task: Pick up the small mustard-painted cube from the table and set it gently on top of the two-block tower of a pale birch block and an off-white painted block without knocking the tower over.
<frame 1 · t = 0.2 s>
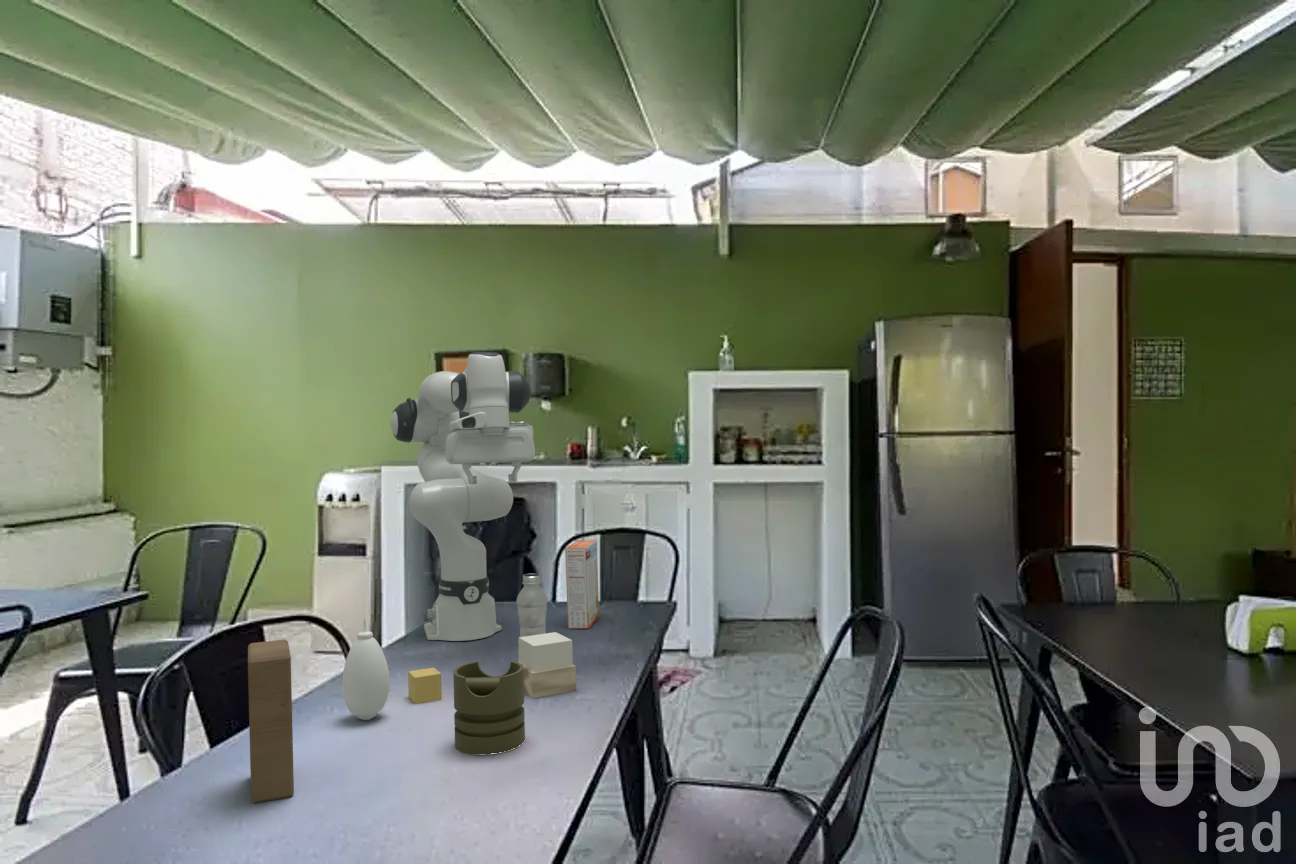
hand: (493, 483, 195), 39 cm above the table, tool pointing down, fingers open, 8 cm apart
piston: (490, 743, 142), on the table
cracker box: (583, 624, 227), on the table
mustard cube: (425, 698, 166), on the table
plastic bottle: (533, 670, 185), on the table
painted tower top: (545, 664, 171), point 5 cm above the table, touching birch tower base
air blower bulb: (366, 719, 155), on the table
birch tower base: (545, 689, 171), on the table, touching painted tower top
decorative block: (272, 787, 126), on the table
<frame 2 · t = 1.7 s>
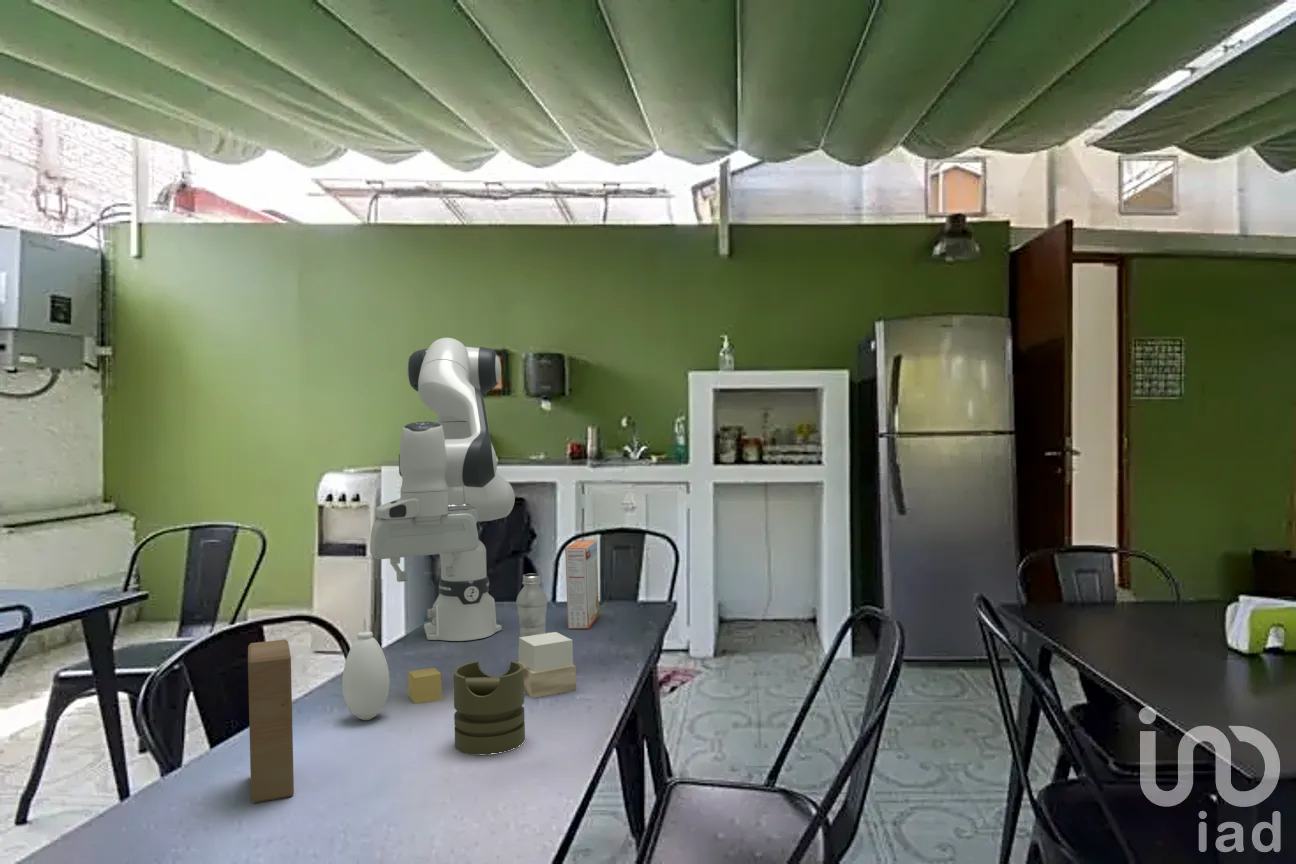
hand: (426, 578, 166), 23 cm above the table, tool pointing down, fingers open, 8 cm apart
nothing on the table moved.
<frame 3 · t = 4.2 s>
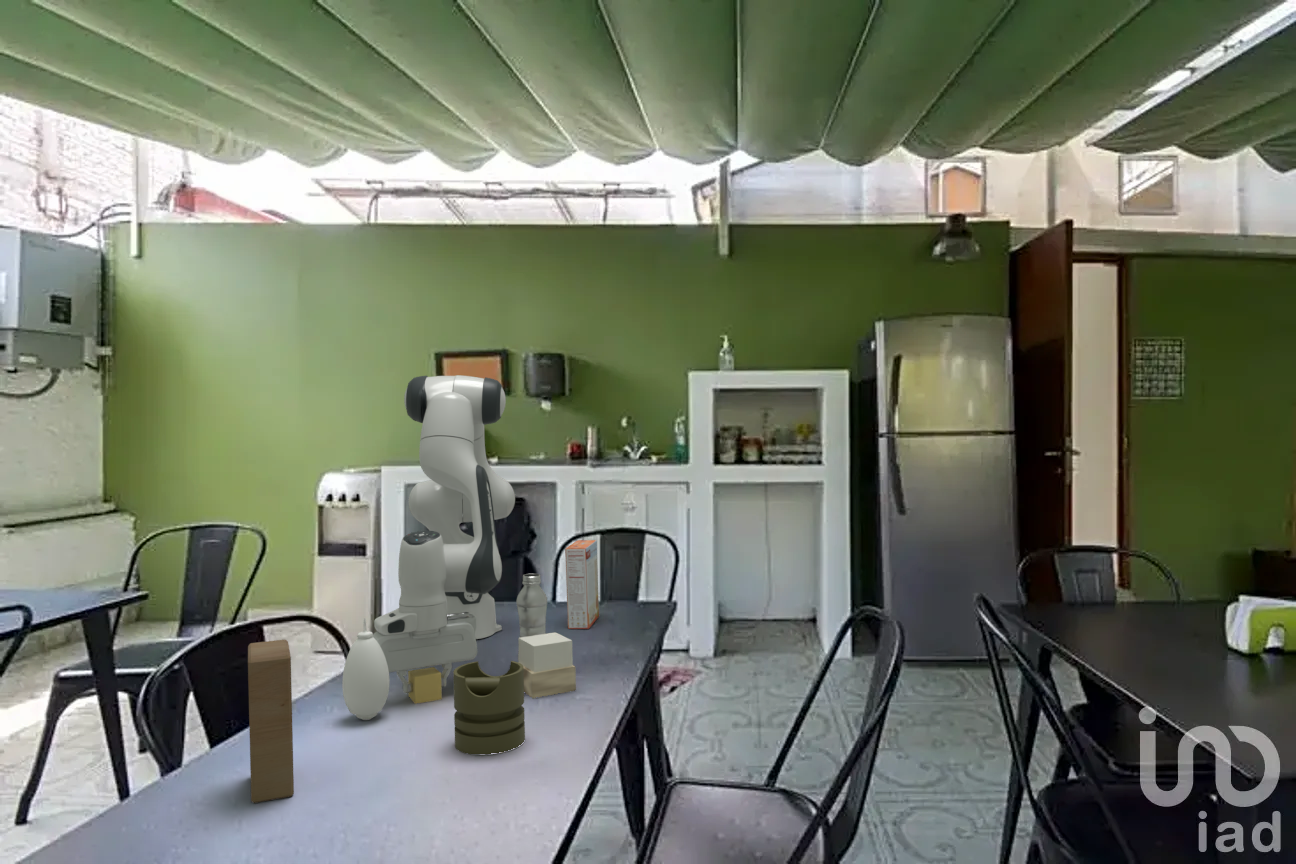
hand: (424, 689, 166), 2 cm above the table, tool pointing down, fingers closed on mustard cube, 5 cm apart
mustard cube: (425, 698, 166), on the table, touching gripper
painted tower top: (545, 664, 171), point 5 cm above the table
birch tower base: (545, 689, 171), on the table
everything else where it was.
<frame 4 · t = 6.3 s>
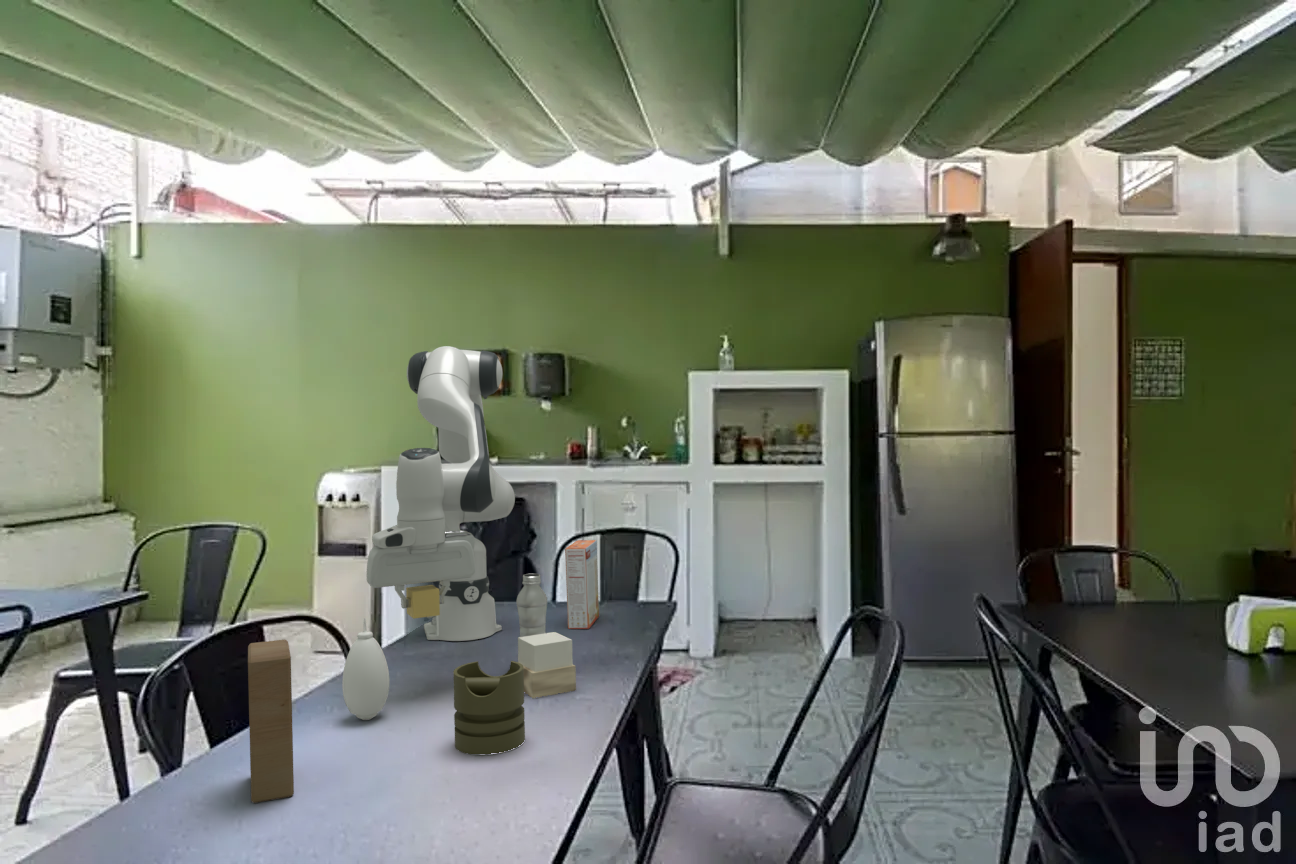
hand: (422, 605, 166), 18 cm above the table, tool pointing down, fingers closed on mustard cube, 5 cm apart
mustard cube: (423, 614, 166), point 16 cm above the table, touching gripper
painted tower top: (545, 664, 171), point 5 cm above the table, touching birch tower base
birch tower base: (545, 689, 171), on the table, touching painted tower top
everything else where it was.
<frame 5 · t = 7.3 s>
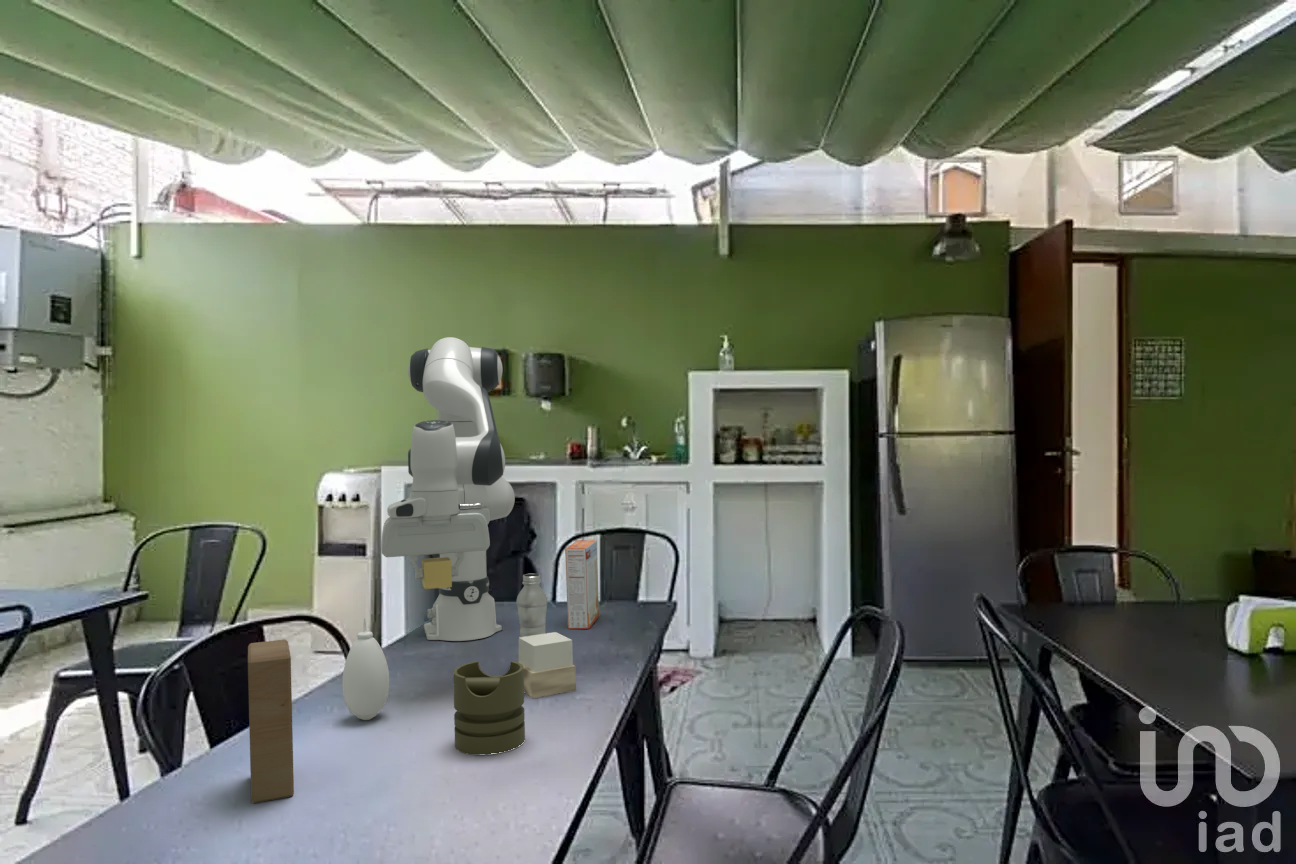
hand: (436, 577, 167), 23 cm above the table, tool pointing down, fingers closed on mustard cube, 5 cm apart
mustard cube: (437, 585, 167), point 21 cm above the table, touching gripper
everything else where it was.
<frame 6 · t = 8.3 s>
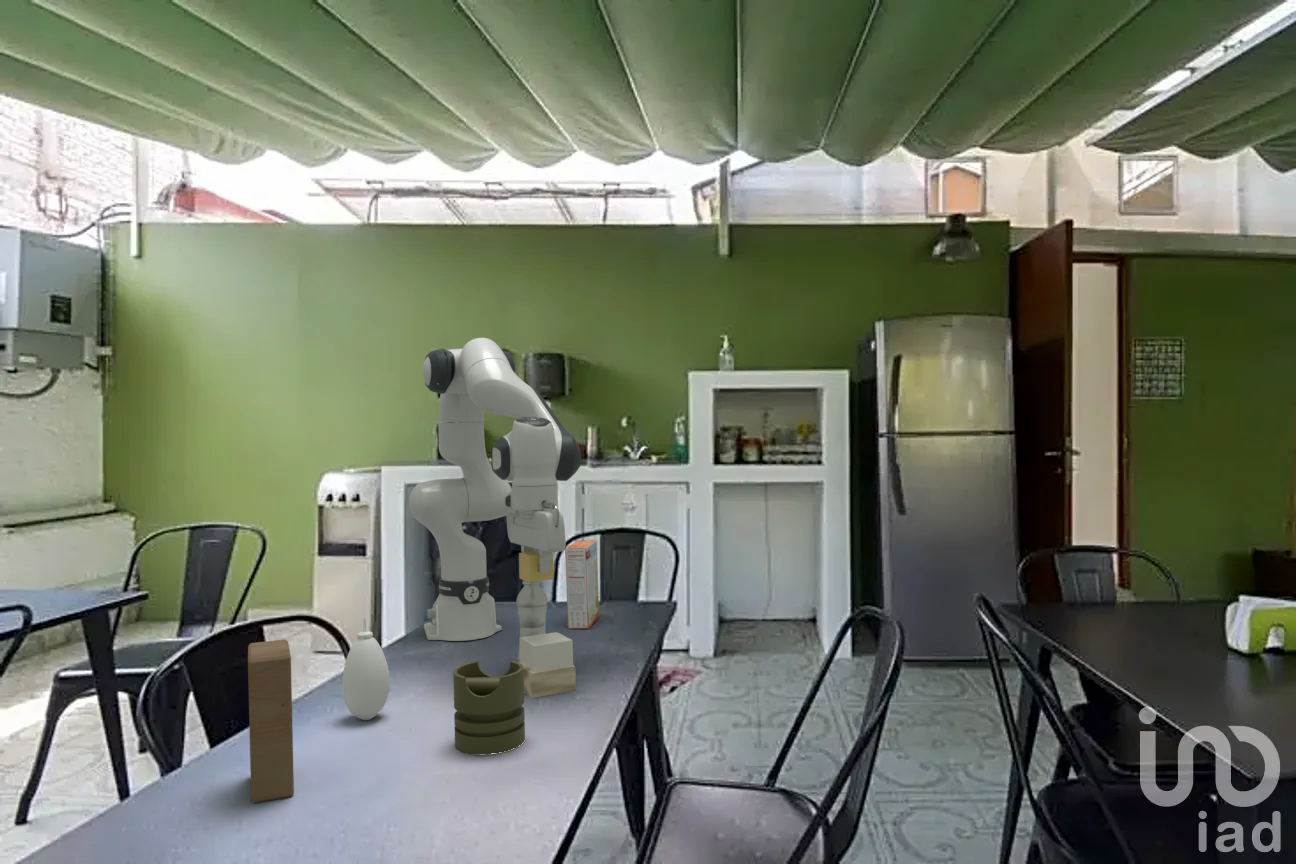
hand: (536, 570, 170), 23 cm above the table, tool pointing down, fingers closed on mustard cube, 5 cm apart
mustard cube: (536, 578, 170), point 22 cm above the table, touching gripper
everything else where it was.
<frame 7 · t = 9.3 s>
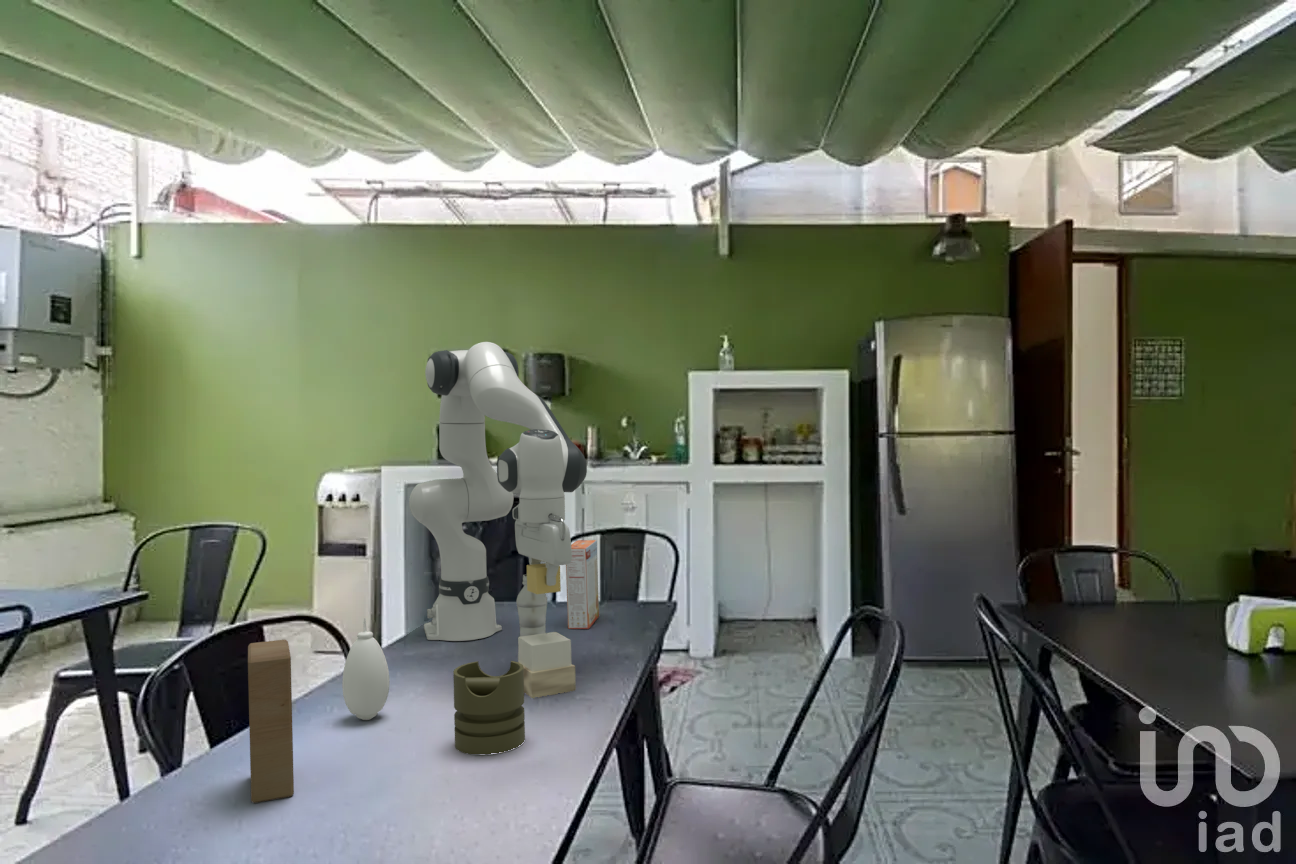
hand: (543, 582, 171), 21 cm above the table, tool pointing down, fingers closed on mustard cube, 5 cm apart
mustard cube: (543, 590, 171), point 19 cm above the table, touching gripper
painted tower top: (544, 663, 171), point 5 cm above the table
birch tower base: (545, 689, 171), on the table
everything else where it was.
when the fingers open (13 cm above the table, at t = 11.7 s): mustard cube drops 2 cm, resting on painted tower top.
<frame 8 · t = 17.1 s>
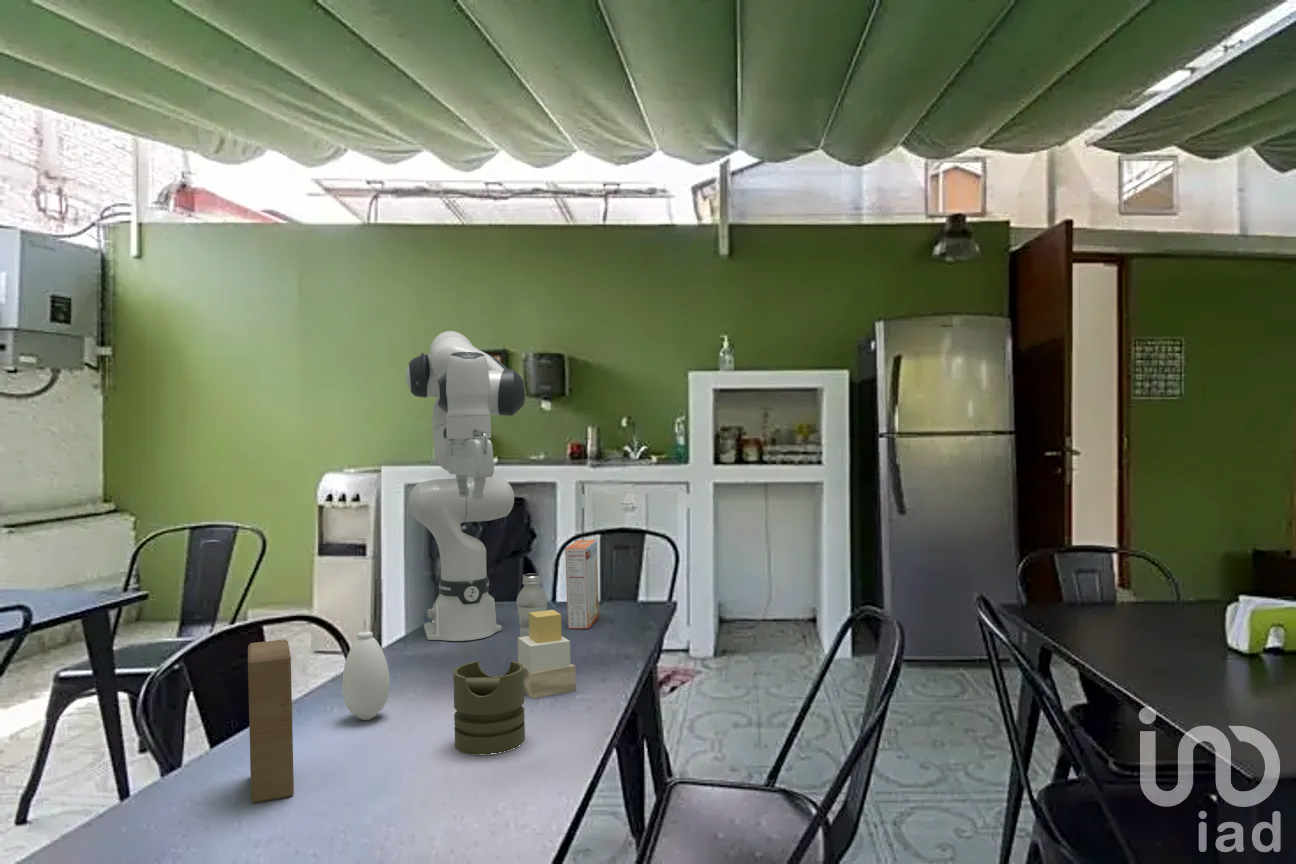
hand: (470, 498, 178), 37 cm above the table, tool pointing down, fingers open, 8 cm apart
mustard cube: (545, 638, 171), point 10 cm above the table, touching painted tower top
painted tower top: (544, 664, 171), point 5 cm above the table, touching birch tower base, mustard cube
birch tower base: (545, 689, 171), on the table, touching painted tower top
everything else where it was.
at the end: mustard cube 0.4 cm off-centre on the painted tower top, point 5.0 cm above the painted tower top's base; painted tower top tilted 0°; painted tower top moved 0.5 cm from its start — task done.
